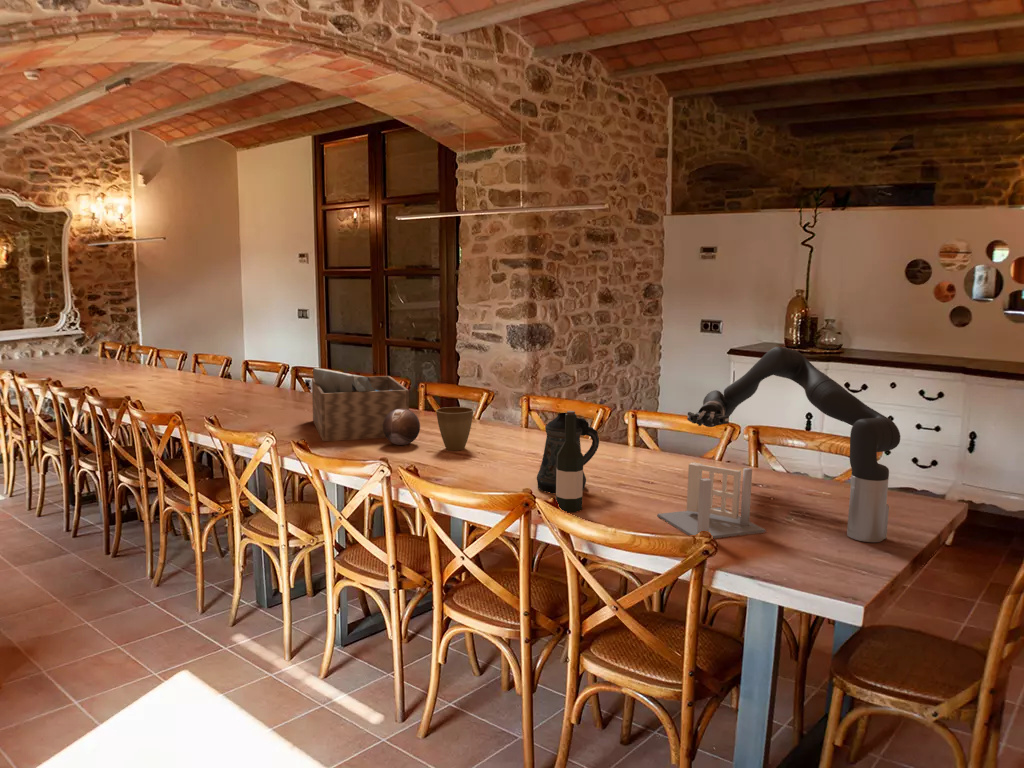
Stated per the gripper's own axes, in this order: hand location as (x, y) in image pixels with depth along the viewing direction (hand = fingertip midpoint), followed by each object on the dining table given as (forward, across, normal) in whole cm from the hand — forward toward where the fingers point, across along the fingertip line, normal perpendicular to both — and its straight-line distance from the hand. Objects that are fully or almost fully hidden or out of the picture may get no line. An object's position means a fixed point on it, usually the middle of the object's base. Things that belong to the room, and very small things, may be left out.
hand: (703, 422), depth 239 cm
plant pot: (-37, -103, +26) cm, 112 cm away
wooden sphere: (-34, -125, +26) cm, 133 cm away
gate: (+14, +6, +24) cm, 28 cm away
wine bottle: (+20, -36, +26) cm, 49 cm away
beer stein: (-2, -45, +26) cm, 52 cm away
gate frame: (+18, +6, +26) cm, 32 cm away
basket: (-56, -158, +26) cm, 170 cm away
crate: (-55, -159, +26) cm, 171 cm away
